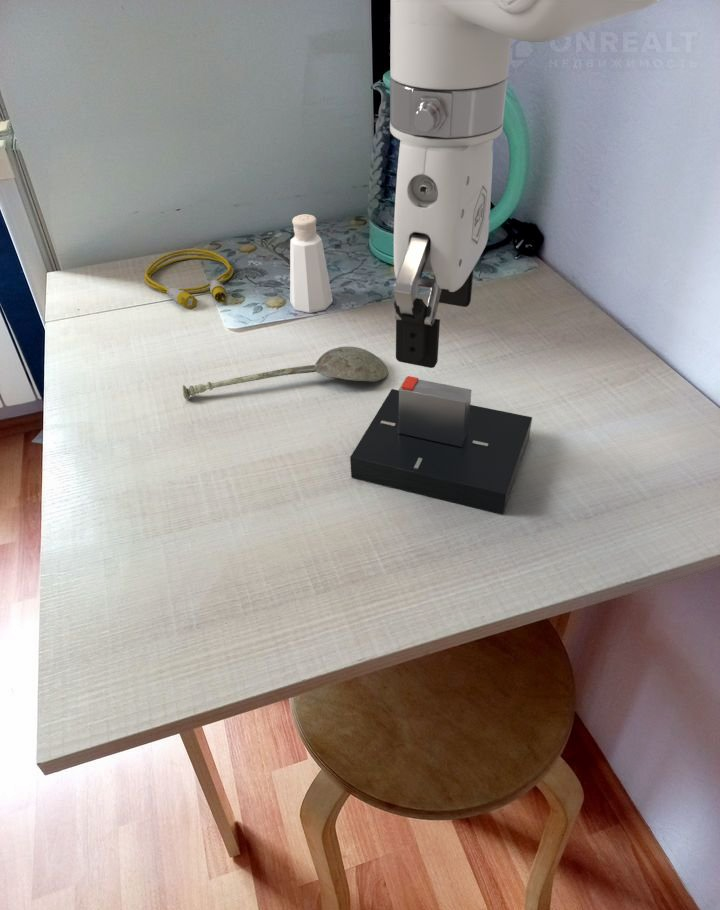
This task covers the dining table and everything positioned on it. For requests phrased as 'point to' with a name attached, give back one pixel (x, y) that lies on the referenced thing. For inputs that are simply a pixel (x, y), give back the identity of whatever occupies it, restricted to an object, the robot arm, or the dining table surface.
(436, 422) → the tap handle
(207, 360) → the dining table surface
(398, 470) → the plate
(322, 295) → the pepper shaker
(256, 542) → the dining table surface
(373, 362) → the soupspoon
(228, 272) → the extension cord
